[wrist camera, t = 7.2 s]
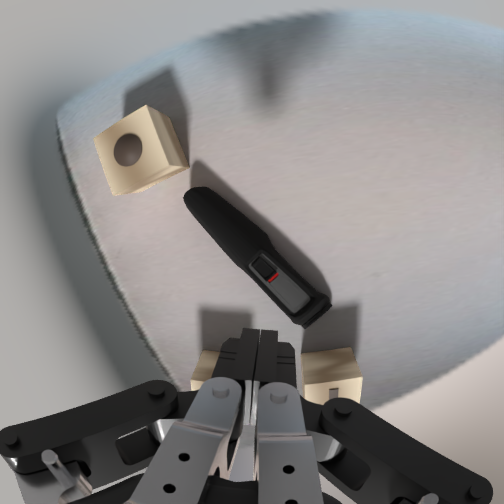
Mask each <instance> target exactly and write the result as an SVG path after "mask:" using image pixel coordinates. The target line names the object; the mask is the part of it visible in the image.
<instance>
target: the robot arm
mask: <svg viewBox="0 0 504 504" xmlns="http://www.w3.org/2000/svg"><path fill="white" fill-rule="evenodd" d="M259 339H260V342H259ZM251 410H252V418H251V425H256V426H255V438H254V469H253V481H245V482H233V481H229V480H228V479H229V475H230V472H231V468H232V465H233V462H234V458H235V455H236V452H237V448H238V445H239V442H240V435H241V433H242V429H243V424H245V425H249V423H250V416H251ZM144 426H146V428H144V429H141V430H139V431H137V432H134V433H132V434H130V435H127V436H125V437H123V438H120V439H118V438H119V437H121V436H123V435H125V434H128V433H130V432H133V431H135V430H137V429H140V428H141V427H144ZM0 454H1V456H2V457H3V458H4V459H5V461H6V462H7V463H8V464H9V466H10V468H11V469H12V470H13V471H14V473H15V475H16V479H17V482H18V485H19V488H20V491H21V493H22V496H23V499H24V501H25V504H342V503H341V502H340V501H338V500H337V499H335V498H334V497H332V496H330V495H328V494H326V493H323V492H322V490H321V484H320V478H319V473H320V474H321V475H323V476H324V477H325V478H326V479H327V480H328V481H330V482H331V483H332V484H333V485H334V486H336V487H337V488H338V489H339V490H341V491H342V492H343V493H344V494H345V495H347V496H348V497H349V498H351V499H352V500H353V501H354V502H356V503H357V504H489V503H490V502H491V500H492V496H493V488H492V486H491V484H490V482H489V481H488V480H487V479H486V478H484V477H482V476H480V475H478V474H476V473H474V472H472V471H470V470H469V469H466V468H465V467H463V466H461V465H459V464H457V463H455V462H454V461H452V460H450V459H448V458H446V457H444V456H443V455H441V454H439V453H438V452H436V451H434V450H432V449H431V448H429V447H427V446H425V445H424V444H422V443H420V442H419V441H417V440H415V439H414V438H412V437H410V436H409V435H407V434H405V433H404V432H402V431H400V430H399V429H397V428H396V427H394V426H393V425H391V424H390V423H388V422H386V421H385V420H383V419H382V418H380V417H379V416H377V415H375V414H374V413H372V412H371V411H369V410H368V409H366V408H365V407H363V406H362V405H360V404H359V403H357V402H356V401H354V400H352V399H349V398H343V397H338V398H333V399H330V400H328V401H327V402H325V403H324V405H321V404H317V403H313V402H310V401H308V400H306V399H304V398H303V397H302V396H301V395H300V394H299V392H298V390H297V385H296V365H295V349H294V348H293V347H292V345H291V344H290V343H287V342H278V331H274V330H261V335H260V329H248V328H243V331H242V334H241V338H240V339H235V338H229V339H228V340H227V341H226V342H225V343H223V345H222V348H221V351H220V354H219V357H218V359H217V362H216V365H215V368H214V371H213V374H212V376H211V379H208V380H206V381H205V382H204V383H203V384H202V385H201V387H200V389H199V390H195V391H188V392H177V390H176V388H175V387H174V385H172V384H171V383H169V382H167V381H163V380H152V381H148V382H145V383H143V384H140V385H138V386H135V387H132V388H130V389H127V390H124V391H122V392H119V393H116V394H114V395H111V396H108V397H105V398H102V399H100V400H97V401H94V402H91V403H88V404H85V405H82V406H79V407H76V408H73V409H69V410H66V411H63V412H60V413H57V414H53V415H50V416H46V417H43V418H39V419H36V420H32V421H28V422H24V423H21V424H17V425H12V426H8V427H6V428H4V429H2V430H1V431H0ZM146 467H148V468H147V470H146V472H145V473H142V474H139V475H136V476H133V477H130V478H128V479H126V480H124V481H122V482H120V483H117V484H115V485H113V486H111V487H108V488H106V489H104V490H101V491H99V492H97V493H94V494H92V490H93V489H95V488H98V487H101V486H104V485H106V484H109V483H111V482H114V481H116V480H119V479H121V478H124V477H126V476H128V475H131V474H133V473H135V472H137V471H139V470H142V469H144V468H146Z"/></svg>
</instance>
